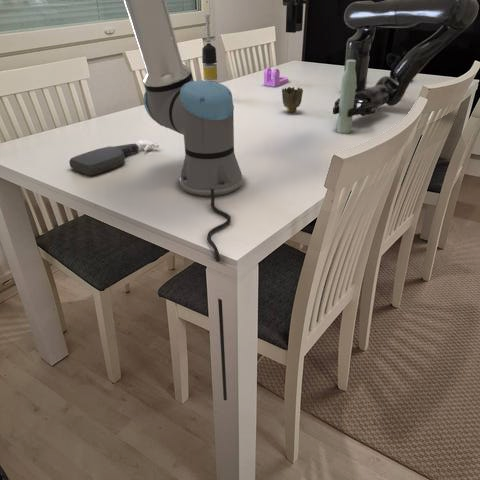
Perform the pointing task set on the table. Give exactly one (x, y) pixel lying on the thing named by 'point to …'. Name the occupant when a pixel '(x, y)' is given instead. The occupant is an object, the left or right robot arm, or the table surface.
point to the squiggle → (394, 65)
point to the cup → (292, 98)
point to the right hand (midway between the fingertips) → (341, 112)
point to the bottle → (347, 97)
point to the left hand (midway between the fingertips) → (294, 31)
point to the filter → (209, 57)
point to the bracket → (273, 78)
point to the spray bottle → (106, 157)
